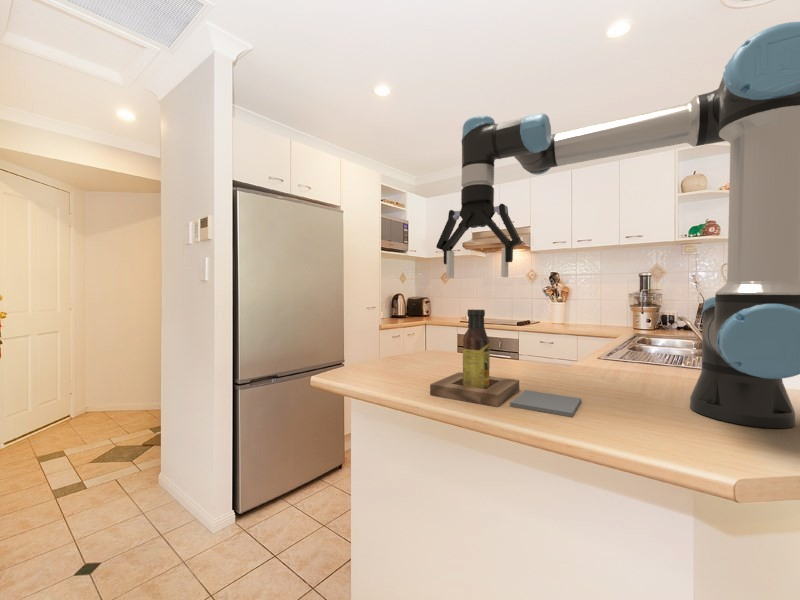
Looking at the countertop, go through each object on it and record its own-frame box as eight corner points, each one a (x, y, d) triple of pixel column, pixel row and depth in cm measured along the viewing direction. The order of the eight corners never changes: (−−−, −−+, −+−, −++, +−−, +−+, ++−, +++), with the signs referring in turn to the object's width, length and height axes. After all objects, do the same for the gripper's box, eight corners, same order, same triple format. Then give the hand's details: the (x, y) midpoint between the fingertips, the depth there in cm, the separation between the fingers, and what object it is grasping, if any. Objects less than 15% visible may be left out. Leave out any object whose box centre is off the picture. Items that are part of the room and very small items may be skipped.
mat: (581, 401, 81) (581, 398, 81) (572, 417, 71) (572, 413, 71) (525, 393, 87) (525, 390, 87) (510, 406, 77) (510, 402, 77)
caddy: (519, 390, 90) (519, 380, 90) (497, 407, 77) (497, 395, 77) (458, 381, 99) (459, 372, 99) (430, 394, 86) (430, 384, 86)
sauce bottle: (490, 397, 84) (491, 310, 84) (462, 395, 85) (463, 309, 85) (488, 389, 91) (488, 308, 90) (462, 388, 92) (463, 308, 91)
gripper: (536, 183, 83) (534, 277, 84) (437, 197, 97) (436, 278, 97) (527, 174, 77) (525, 276, 77) (423, 191, 91) (422, 277, 91)
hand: (476, 277), depth 87 cm, fingers open, 13 cm apart
